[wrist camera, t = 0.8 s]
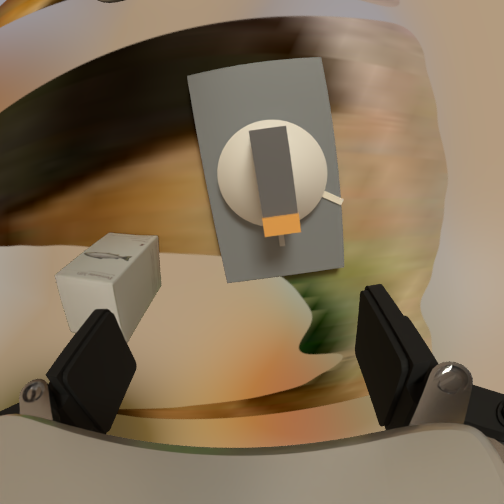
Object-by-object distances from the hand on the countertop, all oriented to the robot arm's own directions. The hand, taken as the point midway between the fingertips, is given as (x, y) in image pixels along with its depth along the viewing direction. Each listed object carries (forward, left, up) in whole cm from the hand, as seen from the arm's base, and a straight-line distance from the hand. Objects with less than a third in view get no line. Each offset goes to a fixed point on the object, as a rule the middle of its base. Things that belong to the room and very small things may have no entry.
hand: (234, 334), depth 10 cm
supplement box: (+5, -16, -24) cm, 30 cm away
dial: (-3, +3, -22) cm, 22 cm away
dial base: (-3, +3, -24) cm, 24 cm away
